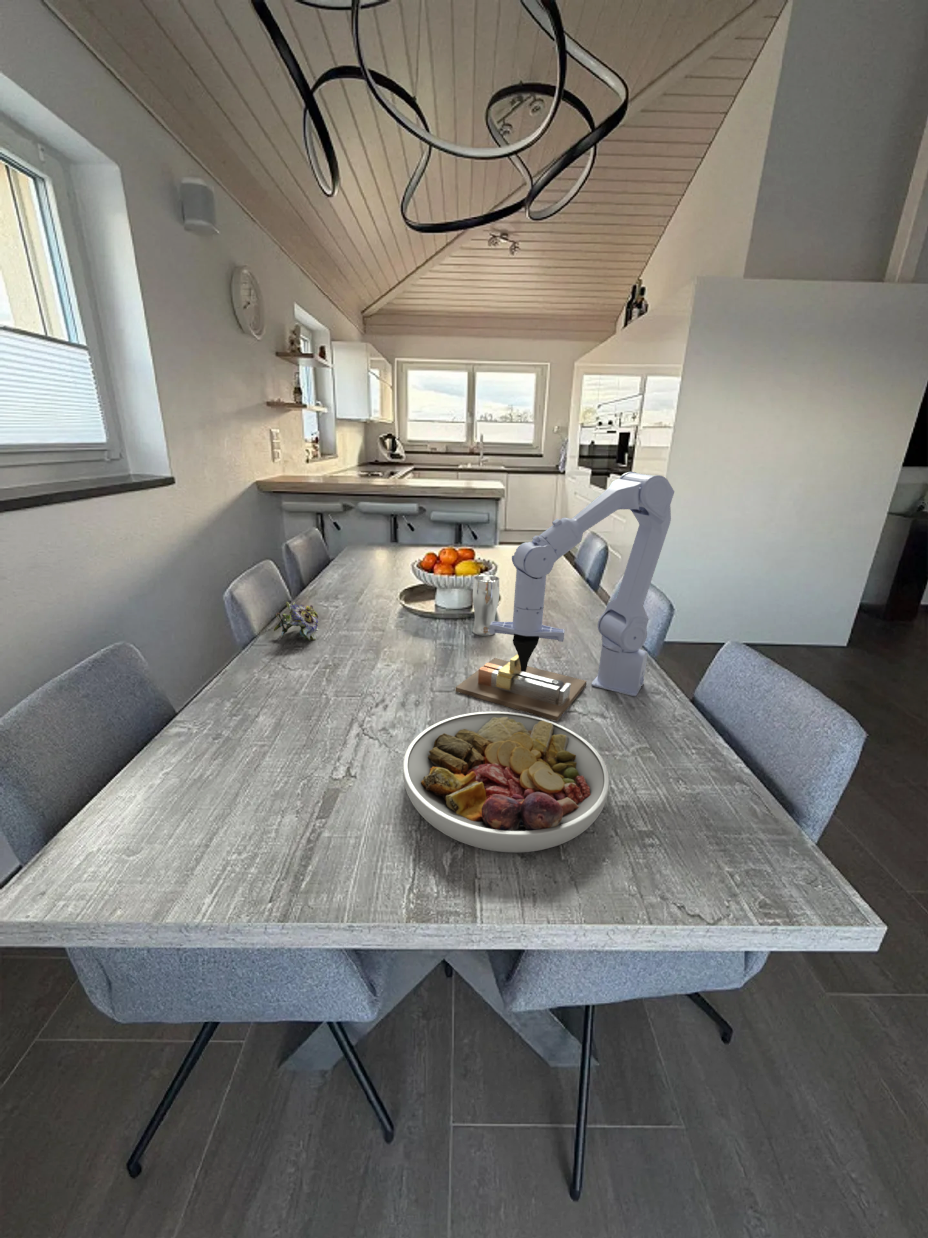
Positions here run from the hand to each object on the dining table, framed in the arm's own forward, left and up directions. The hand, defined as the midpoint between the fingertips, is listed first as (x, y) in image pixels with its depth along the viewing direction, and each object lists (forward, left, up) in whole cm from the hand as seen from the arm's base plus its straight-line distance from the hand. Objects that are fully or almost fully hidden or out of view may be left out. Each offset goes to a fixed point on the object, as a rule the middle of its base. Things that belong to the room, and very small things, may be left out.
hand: (523, 669), depth 106 cm
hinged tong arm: (+1, -1, -4) cm, 5 cm away
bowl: (-10, +29, -6) cm, 32 cm away
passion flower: (+60, +3, -6) cm, 60 cm away
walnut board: (+1, -3, -6) cm, 6 cm away
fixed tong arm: (0, 0, -5) cm, 5 cm away
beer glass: (+23, -28, -6) cm, 36 cm away
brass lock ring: (+3, 0, -4) cm, 5 cm away
